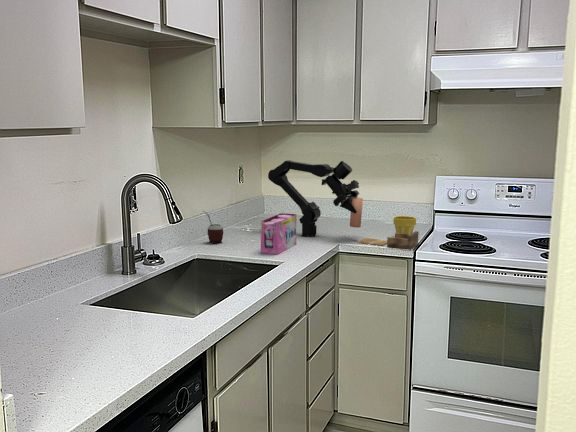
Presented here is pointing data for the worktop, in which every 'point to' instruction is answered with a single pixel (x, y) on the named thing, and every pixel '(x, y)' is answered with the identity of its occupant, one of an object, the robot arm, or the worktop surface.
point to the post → (356, 217)
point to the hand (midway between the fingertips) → (358, 212)
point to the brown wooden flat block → (373, 241)
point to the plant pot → (404, 224)
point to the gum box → (278, 233)
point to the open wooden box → (403, 241)
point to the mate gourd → (214, 232)
